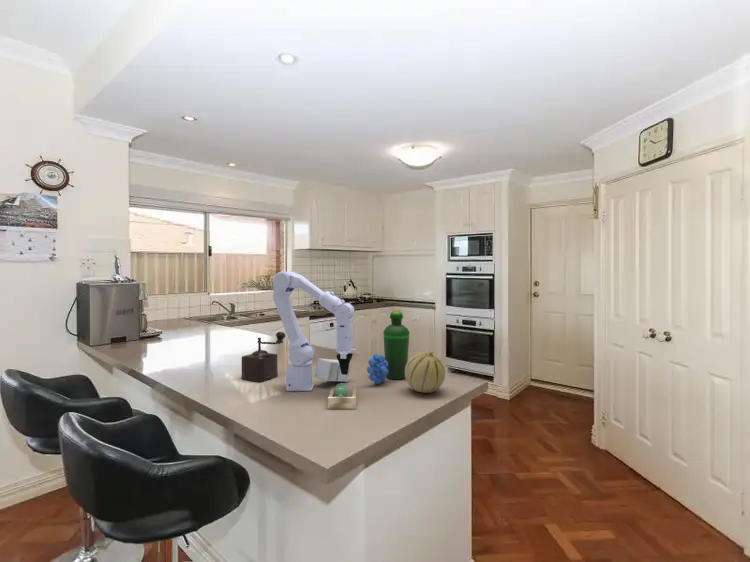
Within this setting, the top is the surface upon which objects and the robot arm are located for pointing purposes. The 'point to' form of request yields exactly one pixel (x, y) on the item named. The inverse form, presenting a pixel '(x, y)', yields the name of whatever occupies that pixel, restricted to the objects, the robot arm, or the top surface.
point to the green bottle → (340, 390)
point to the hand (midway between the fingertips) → (344, 374)
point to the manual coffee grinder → (261, 363)
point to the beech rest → (342, 401)
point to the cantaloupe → (425, 372)
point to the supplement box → (330, 370)
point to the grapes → (377, 368)
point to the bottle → (396, 346)
